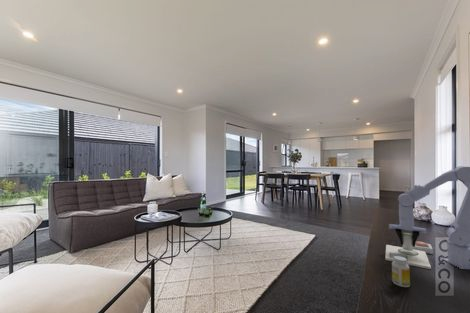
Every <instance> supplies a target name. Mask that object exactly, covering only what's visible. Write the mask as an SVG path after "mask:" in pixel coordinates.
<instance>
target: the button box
mask: <svg viewBox="0 0 470 313" xmlns="http://www.w3.org/2000/svg"><path fill="white" fill-rule="evenodd" d="M413 249H414V250H420V251H425V252H426V254H431V255H434V249H433V247H432V244H430V243H427V247H422V246H417V245H416V243H415V247H413Z"/></svg>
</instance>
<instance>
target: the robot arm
mask: <svg viewBox="0 0 470 313" xmlns="http://www.w3.org/2000/svg"><path fill="white" fill-rule="evenodd" d="M458 181H459V182H461V183H462V184H463V185H464V186H465V187H466V188H467V190H466V192H465V195H464V197H463V200H462V202H461V205H460V208H459V210H458V212H457V215H456V218H455V220H454V221H453V222H452V223H451V226H449V227H447V228H446V231H445V233H446V235H447V236H448V239H447V240H446V244H447V258H445V257H444V258H443V257H442V260H443V261H445V262H447V263H449V264H451V265H453V266H455V267H456V266H457V267H456V268H458V267H459V268H458V269H461V270H470V166H464V165H463V166H456V167H454V168H453V169H449V170H448V171H445V172H443V173H442V174H440V175H439V176H437V177H435V178H434V179H432V180H430V181H429V182H427V183H425V184H415V185H413V187H412V188H411V189H408V190H405V191H404V193H401V194H400V195H398V198H397V201H398V219H399V224H392V223H388V229H390V230H391V229H392V230H394V229H395V233H396V234H397V237H398V239H399V243H400V245H401V246H403V242H402V233H403V232H402V231H407V232H412V233H411V234H412V235H413V238H412V239H413V247H415V243H416V241H417V240H418V238H419V236H420V233H422V234H427V228H423V227H418V226H415V219H414V218H415V216H414V209H413V205H414V202H418V201H419V200H421V199H423V198H425V197H427V196H430V192H431V191H432V190H434V189H436V188H438V187H440V186H441V185H443V184H446V183H448V182H458Z"/></svg>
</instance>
